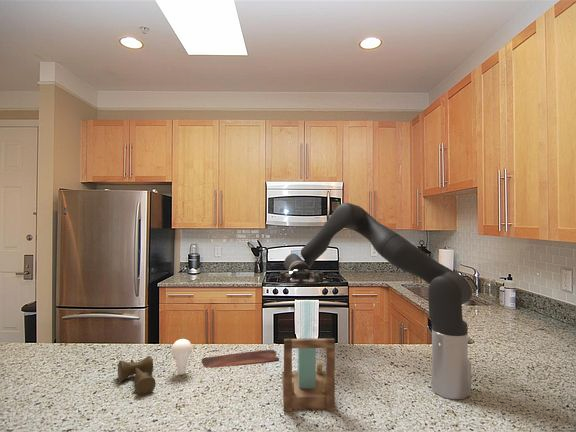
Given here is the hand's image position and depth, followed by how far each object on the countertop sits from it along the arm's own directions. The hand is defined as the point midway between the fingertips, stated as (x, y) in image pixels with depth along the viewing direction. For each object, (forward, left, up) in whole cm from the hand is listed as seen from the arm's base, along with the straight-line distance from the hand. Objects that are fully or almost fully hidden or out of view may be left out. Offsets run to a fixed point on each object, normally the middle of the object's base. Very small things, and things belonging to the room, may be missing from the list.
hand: (303, 279), depth 107 cm
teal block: (0, +11, -27) cm, 29 cm away
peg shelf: (0, +11, -30) cm, 32 cm away
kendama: (+50, +2, -30) cm, 58 cm away
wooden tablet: (+21, -13, -31) cm, 40 cm away
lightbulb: (+38, -2, -30) cm, 49 cm away
